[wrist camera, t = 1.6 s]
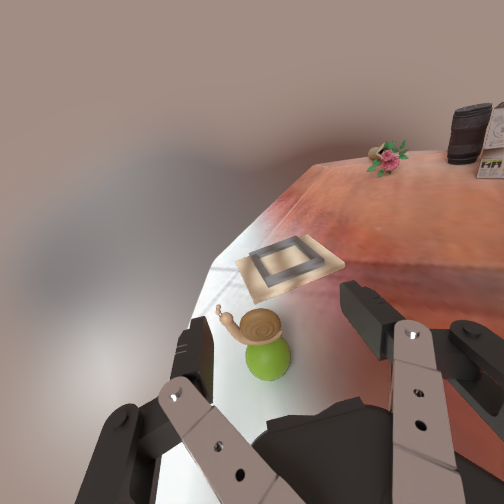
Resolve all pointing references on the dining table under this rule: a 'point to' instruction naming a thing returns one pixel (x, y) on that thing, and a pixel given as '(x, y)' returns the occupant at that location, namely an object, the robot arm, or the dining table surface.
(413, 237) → the dining table surface
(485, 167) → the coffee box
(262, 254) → the board
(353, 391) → the dining table surface
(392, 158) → the flower vase
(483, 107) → the camera lens
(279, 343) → the snail figurine
